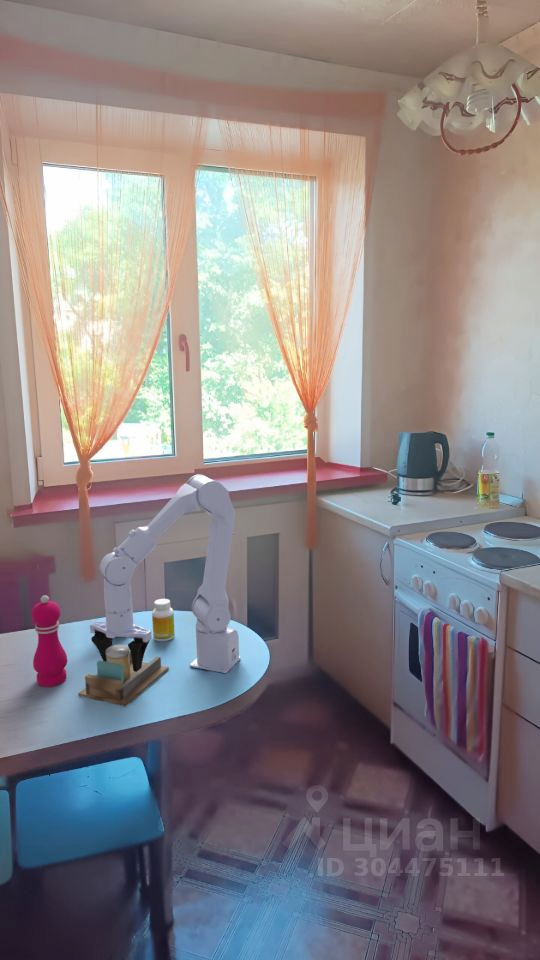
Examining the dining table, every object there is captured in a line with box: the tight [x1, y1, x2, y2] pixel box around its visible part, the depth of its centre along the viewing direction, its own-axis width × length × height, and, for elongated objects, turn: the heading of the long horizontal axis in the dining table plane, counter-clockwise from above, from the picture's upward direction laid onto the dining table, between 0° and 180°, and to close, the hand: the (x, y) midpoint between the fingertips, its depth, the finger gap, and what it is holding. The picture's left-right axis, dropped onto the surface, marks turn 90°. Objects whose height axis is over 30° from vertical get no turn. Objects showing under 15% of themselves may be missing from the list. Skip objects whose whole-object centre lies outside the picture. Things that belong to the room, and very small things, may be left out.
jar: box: [106, 644, 131, 682], centre depth 141 cm, size 5×5×8 cm
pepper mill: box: [31, 594, 68, 688], centre depth 143 cm, size 7×7×20 cm
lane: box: [77, 650, 170, 707], centre depth 143 cm, size 12×17×4 cm
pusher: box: [96, 659, 124, 683], centre depth 138 cm, size 6×1×6 cm, turn 68°
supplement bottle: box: [151, 598, 176, 642], centre depth 165 cm, size 5×5×10 cm
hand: (122, 666), depth 142 cm, fingers open, 7 cm apart
